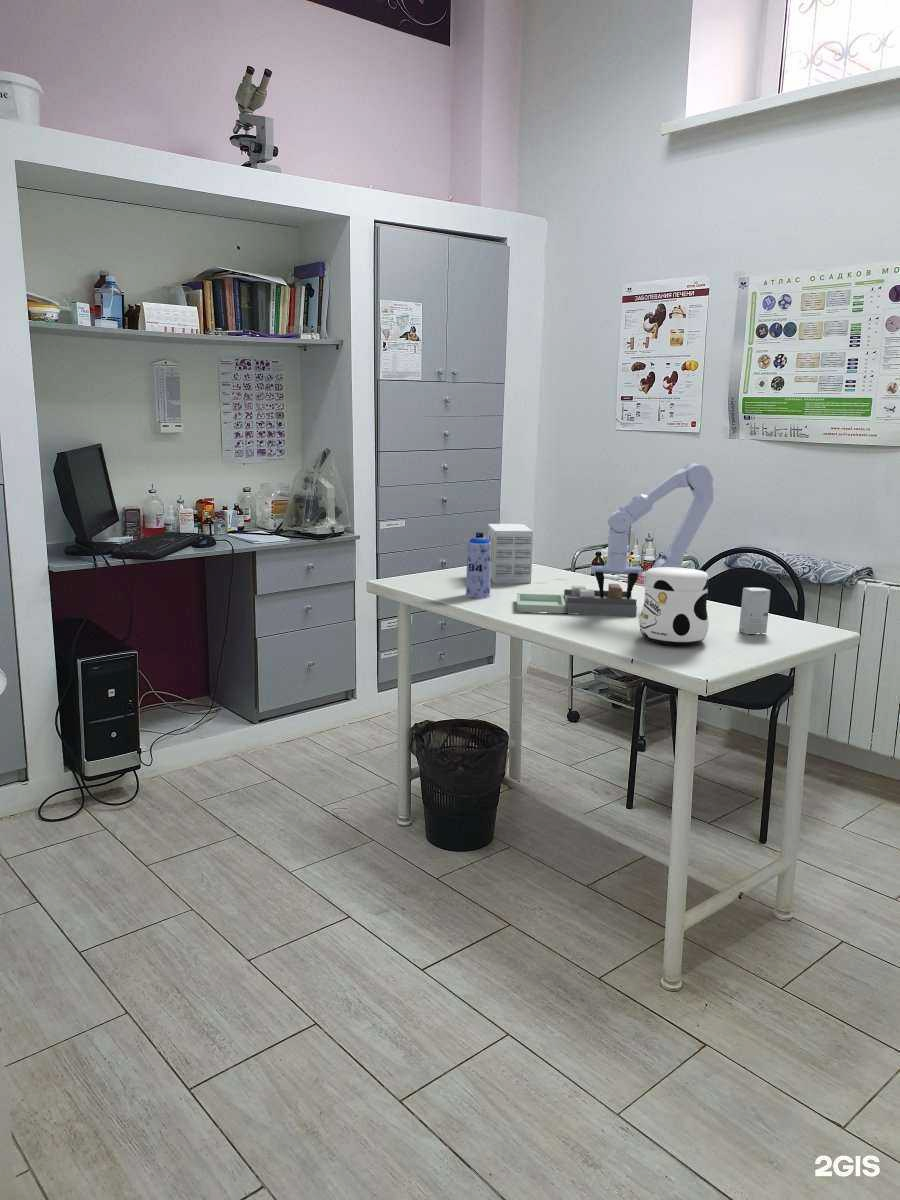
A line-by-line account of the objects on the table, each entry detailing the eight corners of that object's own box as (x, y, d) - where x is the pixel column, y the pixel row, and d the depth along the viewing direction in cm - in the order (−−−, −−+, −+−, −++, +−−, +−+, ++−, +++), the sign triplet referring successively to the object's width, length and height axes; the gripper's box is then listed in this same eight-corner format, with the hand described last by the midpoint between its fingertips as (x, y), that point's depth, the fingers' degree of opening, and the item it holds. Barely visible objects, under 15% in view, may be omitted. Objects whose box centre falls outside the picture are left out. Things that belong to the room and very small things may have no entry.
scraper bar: (618, 596, 273) (618, 583, 272) (621, 603, 264) (622, 589, 263) (607, 596, 273) (608, 583, 272) (611, 602, 264) (612, 589, 263)
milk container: (625, 639, 235) (629, 571, 231) (661, 629, 247) (666, 563, 243) (683, 653, 223) (689, 581, 219) (719, 641, 235) (725, 573, 231)
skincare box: (746, 635, 242) (750, 590, 239) (737, 631, 246) (741, 587, 244) (767, 634, 243) (771, 590, 241) (758, 630, 248) (762, 586, 245)
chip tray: (562, 602, 278) (563, 594, 277) (565, 614, 262) (566, 606, 262) (516, 600, 279) (517, 593, 278) (517, 612, 263) (517, 604, 262)
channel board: (629, 605, 276) (630, 590, 275) (636, 616, 261) (637, 600, 261) (563, 602, 277) (564, 588, 276) (566, 613, 263) (567, 598, 262)
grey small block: (584, 595, 273) (585, 586, 273) (585, 598, 270) (586, 588, 269) (571, 595, 274) (571, 585, 273) (572, 598, 270) (572, 588, 269)
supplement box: (485, 574, 322) (487, 523, 318) (522, 574, 323) (524, 523, 319) (493, 583, 305) (494, 530, 301) (532, 583, 306) (534, 530, 303)
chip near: (592, 599, 268) (593, 589, 268) (593, 602, 264) (594, 592, 264) (579, 599, 269) (579, 589, 268) (580, 602, 265) (580, 591, 264)
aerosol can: (461, 597, 283) (463, 533, 278) (470, 592, 290) (472, 530, 286) (485, 599, 280) (487, 535, 276) (493, 594, 287) (495, 531, 283)
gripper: (640, 551, 269) (637, 595, 272) (591, 549, 270) (588, 594, 273) (644, 554, 262) (641, 600, 265) (593, 553, 263) (590, 599, 266)
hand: (614, 597), depth 268 cm, fingers open, 7 cm apart
